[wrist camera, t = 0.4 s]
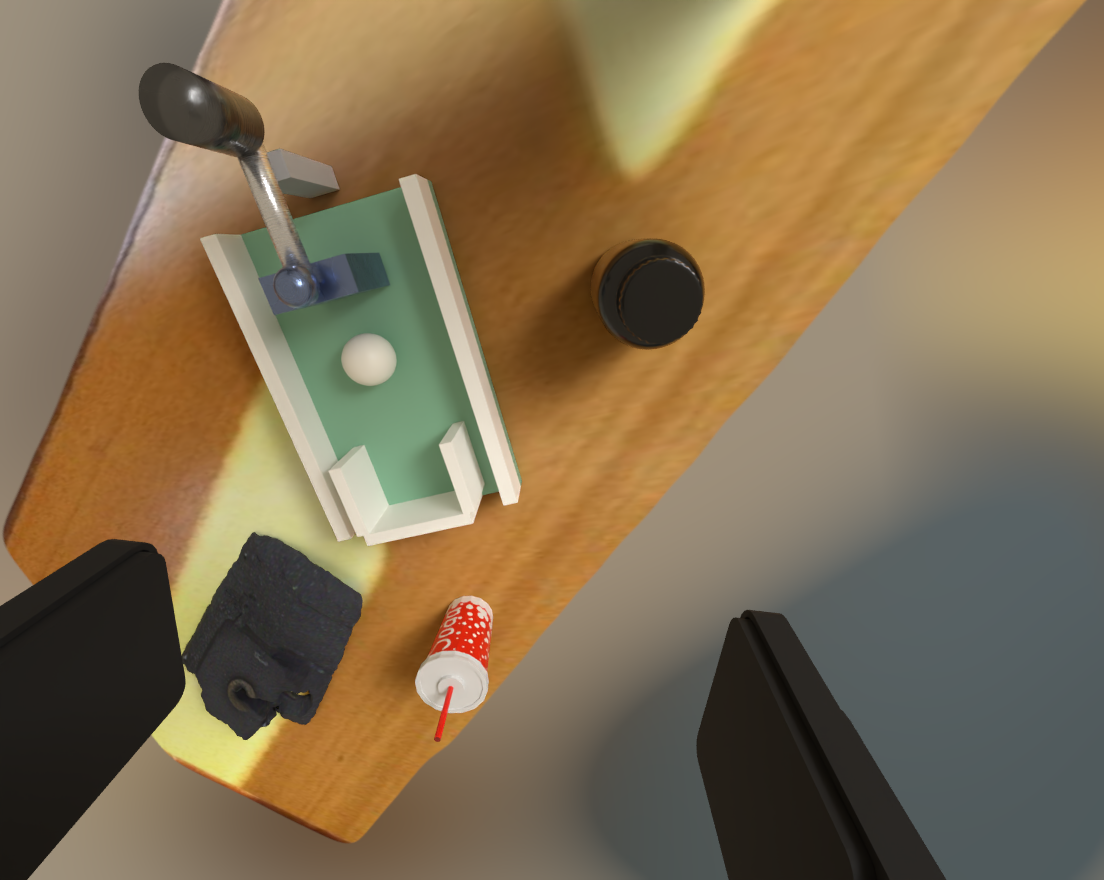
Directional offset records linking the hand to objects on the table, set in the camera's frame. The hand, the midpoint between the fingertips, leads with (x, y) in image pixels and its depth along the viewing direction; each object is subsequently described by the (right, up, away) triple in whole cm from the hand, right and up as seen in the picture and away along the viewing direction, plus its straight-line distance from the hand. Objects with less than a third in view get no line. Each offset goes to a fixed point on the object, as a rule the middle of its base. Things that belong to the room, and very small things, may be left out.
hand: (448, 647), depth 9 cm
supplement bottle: (+8, +16, +32) cm, 36 cm away
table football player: (-15, +20, +29) cm, 38 cm away
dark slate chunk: (-26, -16, +45) cm, 55 cm away
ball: (-12, +10, +31) cm, 35 cm away
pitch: (-12, +11, +34) cm, 38 cm away
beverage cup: (-6, -14, +43) cm, 46 cm away
